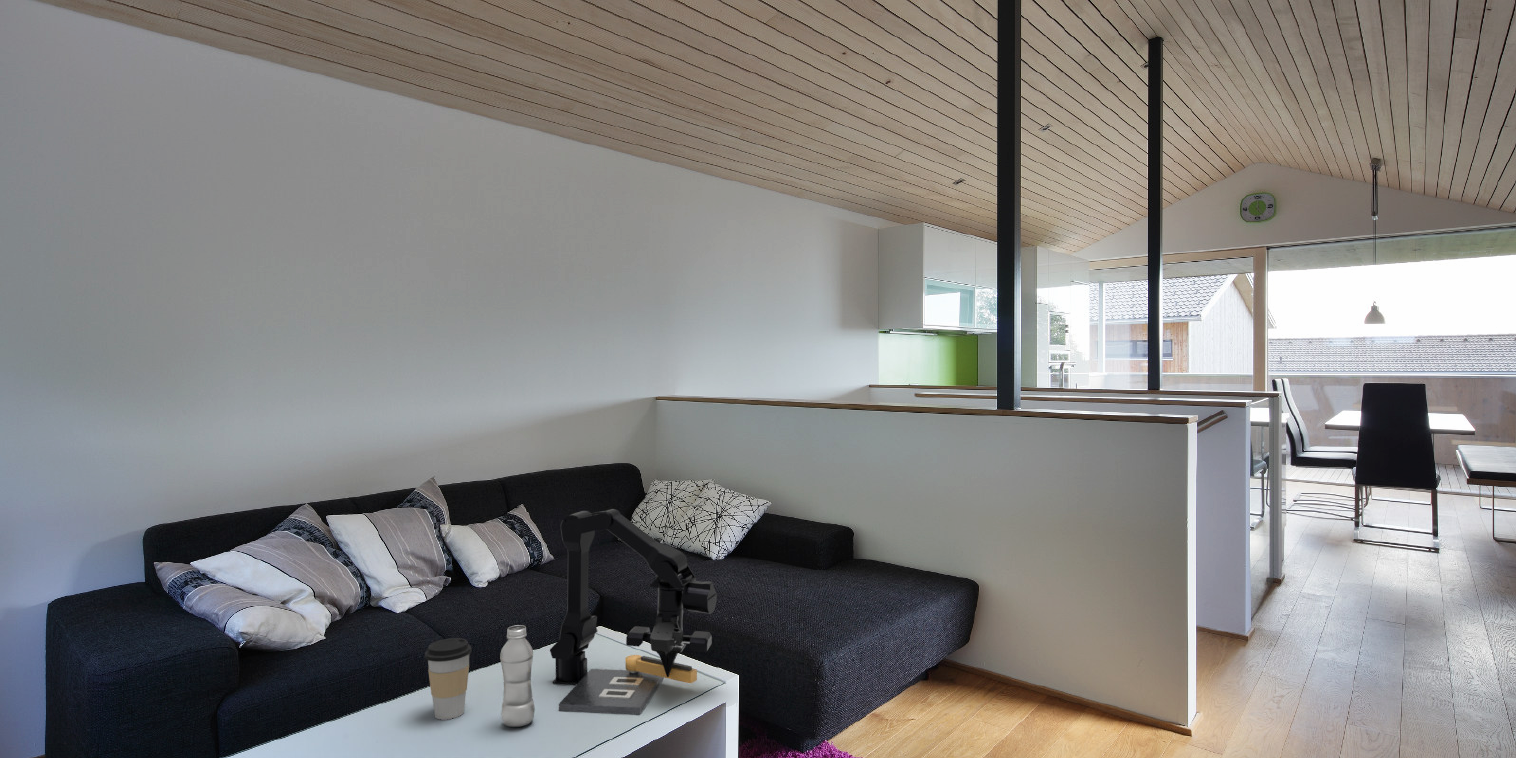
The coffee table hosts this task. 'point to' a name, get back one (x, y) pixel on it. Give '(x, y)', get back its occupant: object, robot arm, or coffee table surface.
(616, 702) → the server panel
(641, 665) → the bar
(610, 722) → the coffee table surface
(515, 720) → the plastic bottle
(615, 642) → the coffee table surface
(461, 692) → the coffee cup
